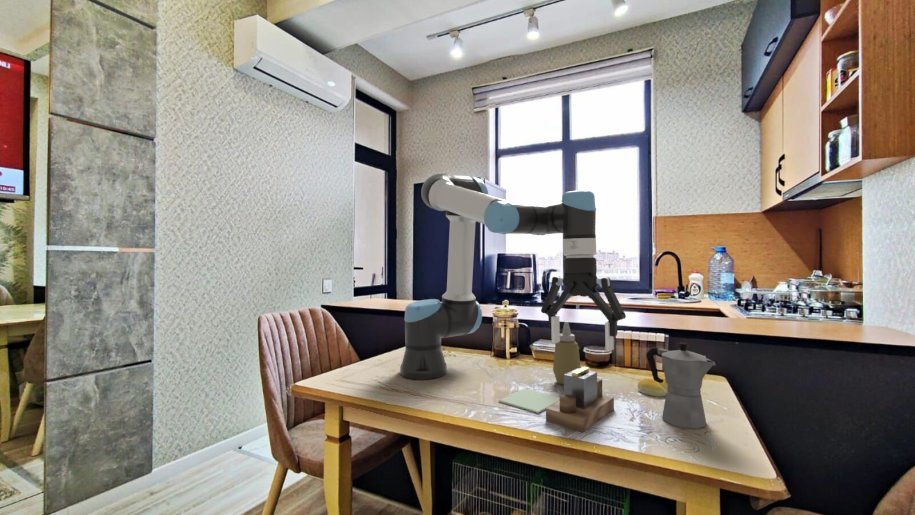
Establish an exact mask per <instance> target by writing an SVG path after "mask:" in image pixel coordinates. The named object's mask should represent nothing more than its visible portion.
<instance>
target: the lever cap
mask: <svg viewBox="0 0 915 515" xmlns="http://www.w3.org/2000/svg"><path fill="white" fill-rule="evenodd" d="M597 378H598V372H597V371H593V370H590V367H587V366H582V367H581V368H580V369H579V368H577V369H575V370H573V371H571V372H569V373H567V374H564V385H563V395H572V396H575V397H576V407H577V408H581V409H586V408H587V407H589V406H590V405H592V404H593V403H595V402H597Z"/></svg>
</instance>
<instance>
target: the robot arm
mask: <svg viewBox="0 0 915 515" xmlns="http://www.w3.org/2000/svg"><path fill="white" fill-rule="evenodd" d="M420 190H421V191H420V193H421V195H420V196H421V199H422V200H423V203H425V205H426V206H428V208H430V209H433V210H436V211H439V212H444V211H445V218H447V219H448V220H449V235H448V254H447V259H448V260H447V275H446V276H447V278H446V280H447V281H446V291H445V293H443V294H442V295H441V301H440V299H436V298H429V299H422V300H416V301H413V302H410V303H409V304H407V305H406V307H405V309H404V319H403V320H404V336H405V337H404V338H405V339H404V340H405V341H404V342H405V345H404V346H405V349H404V353H403V354H404V355H403V358H402V360H401V361H402V362H401V365H400V369H399V370H400V376H401V377H403V378H406V379H410V380H421V381H422V380H431V379H438V378H442V377H443V376H444V375H446V374H447V373H448V367H447V366H448V364H447V362H446V361H445V356H444V353H443V350H442V339H445V338H453V337H456V336H457V337H458V336H459V337H460V336H466V335H468V334H470V335H471V334H473V333H474V332H476V330H478V329H479V327H480V326H481V324H482V320H483V311H482V309H481V305H480V303H479V302H478V301H477V300H476V296H475V294H474V293H473V292H472V291H473V276H474V274H473V272H474V270H473V269H474V256H475V255H474V253H475V236H476V222H477V223H479V224H481V225H482V224H483V225H484V226H485V227H486V229H487V230H488V232H491V233H494V234H501V235H509V234H511V235H512V234H515V235H517V234H519V235H520V234H521V235H522V234H524V235H533V236H535V235H536V236H546V235H553V234H562V239H563V240H562V244H563V245H562V248H563V249H562V250H563V252H562V254H563V256H565V258H564V259H563V261H562V263H563V274H564V276H563V277H561V276H560V275H559V276H553V277H552V278H551V286H550V288H549V290H548V293H547V295H546V297H545V300H544V302H543V304H542V307H541V309H540V312H541V313H542V314H545V315H546V316H547V317H548V318H547V319H548V320H547V321H548V322H547V323H548V328H549V329H550V330H551V332H550V333H551V344H555V343H557V342H560V334H561V333H560V332H561V330H560V329H561V327H560V315H558V313H559V311H560V310H561V309H562V308H563V306H564V305H565V304H566V302H568V300H569V299H570V298H571V297H578V296H580V297H588V298H589V299H590V300H591V301H593V303H594V304H595V305H596V307H597V308H598V309H599V310H600V311H601V313H602V315H603V316H604V317H605V318H606V319H607V321H605V322H604V333H605V334H604V337H605V338H604V339H605V340H604V341H605V342H604V343H605V344H604V345H605V352H610V351H613V350H615V347H614V346H615V345H614V342H615V341H614V337H617V336H618V321H622V320H625V319H626V317H627V316H626V313H625V311H624V309H623V306H622V305H621V303H620V301H619V298H618V297H617V295H616V293H615V291H614V289H613V288H612V280H611V278H610V277H602V278H598V277H597V272H598V270H597V268H598V267H597V258H596V257H594V256H596V255H597V237H596V236H597V235H596V220H597V217H596V215H597V208H596V199H595V198H596V197H595V194H594V193H593V192H592V191H590V190H571V191H566V192H564V193H563V194H562V195H561V196H562V197H561V198H562V199H561V202H558V203H550V204H539V203H529V202H527V203H525V202H524V203H523V202H516V201H511V200H506V199H504V198H499V197H497V196H493V195H490V194H489V191H488V188H487V184H486V183H484V180H482V179H481V178H478V177H474V176H471V175H470V176H469V175H458V174H448V173H435V174H433V175H431V176H429V177H428V178H427V179H425V181H424V182H423V184H422V187H421V189H420ZM562 285H564V287H565V288H564V289H563V291H561V295H559V297H558V298H557V295H558V294H559V291H560V288H561V286H562ZM598 286H599V287H600V288H601V289H602V292H603V294H604V297H606V300H607V302H608V303H607V302H606V301H605V300H604V298H603V297H602V296H601V293H600V292H599V291H598V290H597V287H598ZM556 298H557V300H556ZM555 300H556V301H555ZM608 304H609V305H608Z"/></svg>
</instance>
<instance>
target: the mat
mask: <svg viewBox="0 0 915 515" xmlns="http://www.w3.org/2000/svg"><path fill="white" fill-rule="evenodd" d="M558 401H560V396H557V395H551V394H548V393H545V392H541V391H536V390H533V389H528V388H525V387H524V388H522V389H519V390H518V391H516V392H513V393H511V394H508V395H506V396H504V397H502V398H500V399H498V402H499V403H502V404H505V405H508V406H511V407H515V408H517V409H521V410H524V409H526V410H525V411H528V410H529V411H528V412H531V411H532V413H534V412H536V413H535V414H538V413H539V414H541V413H543V412H544V410H545V411H546V408H547V407H549V406H551V405H552V404H554V403H556V402H558ZM542 411H543V412H542ZM540 412H541V413H540Z"/></svg>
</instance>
